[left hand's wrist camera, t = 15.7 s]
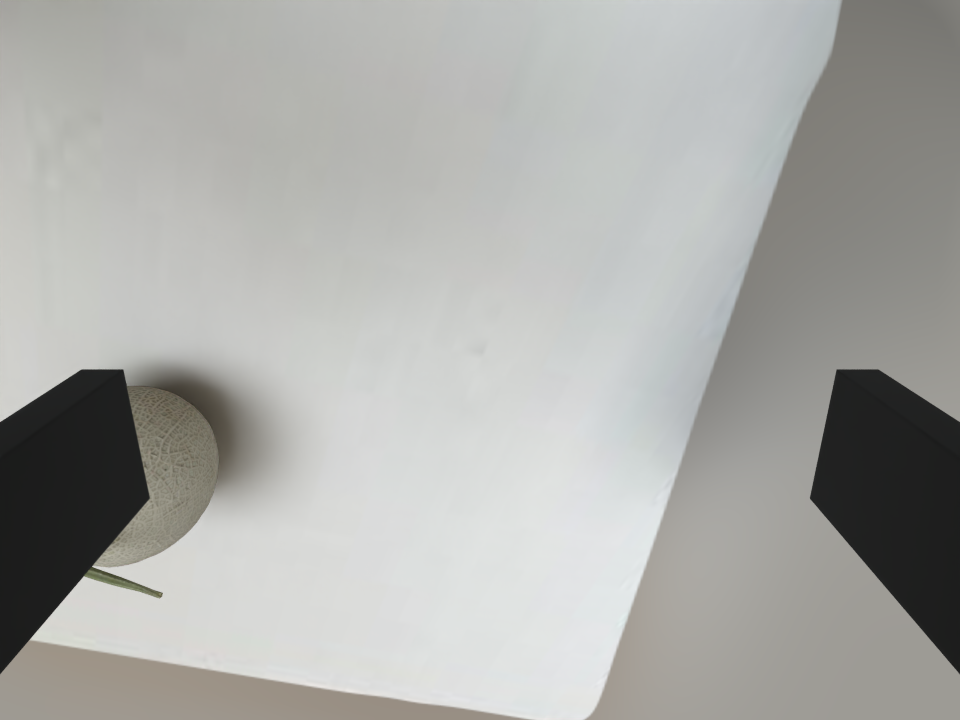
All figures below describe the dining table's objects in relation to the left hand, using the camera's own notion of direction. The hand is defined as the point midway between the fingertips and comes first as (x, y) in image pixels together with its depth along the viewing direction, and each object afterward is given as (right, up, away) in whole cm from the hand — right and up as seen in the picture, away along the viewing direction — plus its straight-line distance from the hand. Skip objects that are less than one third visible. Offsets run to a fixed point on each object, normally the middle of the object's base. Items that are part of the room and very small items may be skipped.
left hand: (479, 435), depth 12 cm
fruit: (-23, -4, +35) cm, 41 cm away
